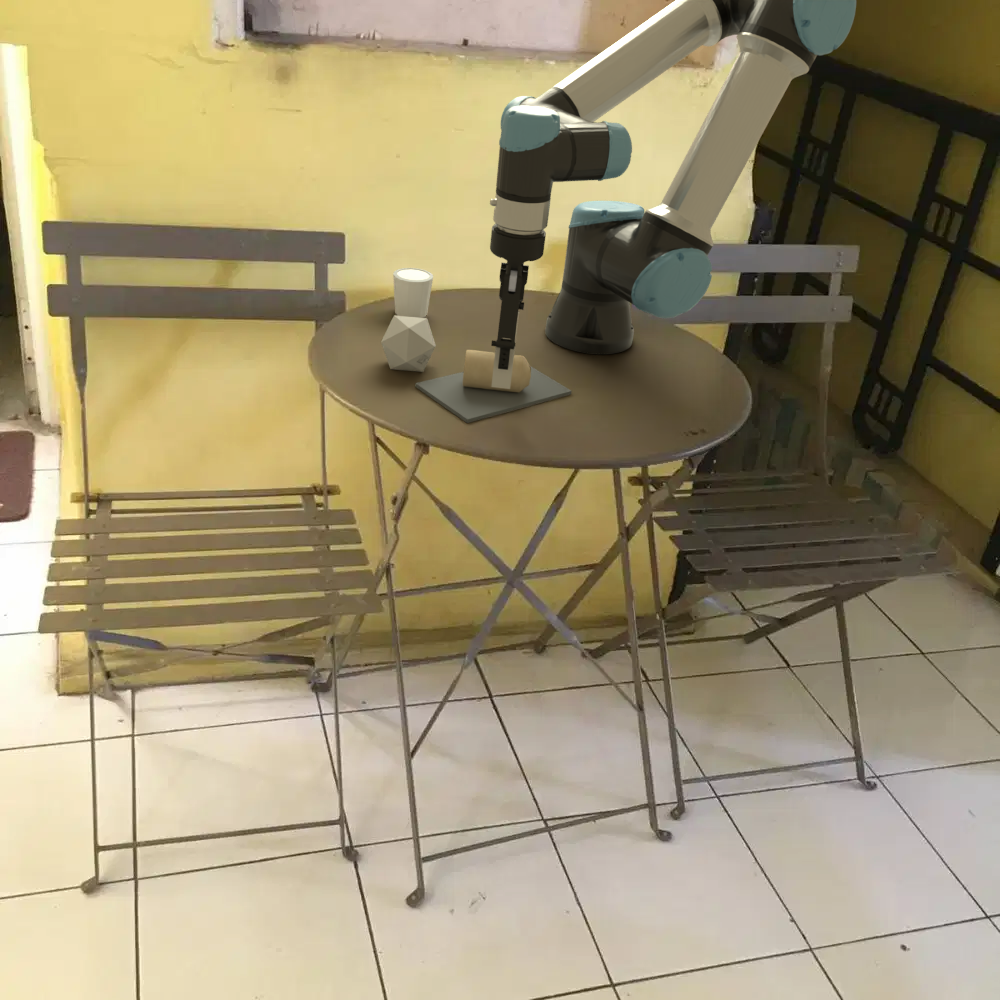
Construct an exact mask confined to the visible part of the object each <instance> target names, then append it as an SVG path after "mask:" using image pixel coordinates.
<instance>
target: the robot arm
mask: <svg viewBox="0 0 1000 1000" xmlns="http://www.w3.org/2000/svg"><path fill="white" fill-rule="evenodd" d="M856 8H857V0H674V1H673V2H671V3H670V4H669V5H667V6H666V7H664V8H663V9H661V10H660V11H658V12H657V13H656V14H654V15H653V16H651V17H650V18H649V19H648V20H646V21H645V22H642V24H640V25H638V27H636V28H634V29H633V30H632V31H630V32H629V33H627V34H626V35H625V36H623V37H622V38H620V39H619V40H618V41H616V42H615V43H613V44H612V45H611V46H609V47H607V48H606V49H605V50H603V51H602V52H600V53H599V54H598V55H596V56H594V57H593V58H592V59H590V60H588V62H586V63H585V64H583V65H582V66H581V67H579V68H577V69H576V70H575V71H573V72H572V73H571V74H569V75H567V76H566V77H565V78H564V79H562V80H561V81H559V82H558V83H556V84H554V86H552V87H550V88H549V89H548V90H546V91H545V92H543V93H542V94H540V95H539V96H538V97H535V96H532V95H531V96H529V95H521V96H517V97H515V98H513V99H511V100H510V102H508V103H507V104H506V106H505V107H504V109H503V112H502V114H501V117H500V130H501V131H500V138H499V142H498V145H499V149H498V151H499V152H498V160H497V162H498V163H497V174H496V185H495V186H496V188H495V198H491V199H490V201H489V204H490V206H492V207H494V209H493V215H492V217H493V218H492V219H493V222H494V224H493V225H492V227H491V234H490V244H489V249H490V252H491V253H492V254H493V255H494V256H496V257H497V258H500V259H504V260H505V261H506V262H501V264H500V265H501V266H500V272H499V283H500V286H499V291H498V293H499V294H498V298H499V300H500V301H501V305H500V313H499V320H498V331H497V339H496V340H491V347H495V349H494V353H495V358H494V367H493V377H492V386H491V387H496V388H505V389H510V386H511V377H512V369H513V360H514V355H515V352H516V351H515V350H516V343H517V334H518V326H519V325H518V324H519V316H520V311H521V310H522V311H524V307H525V302H523V301H524V295H525V288H526V285H527V283H528V278H529V268H530V267H529V265H528V264H527V265H525V263H526V262H533V261H537V260H539V259H541V258H542V257H543V256H544V251H545V243H546V234H547V233H546V231H545V229H546V228H547V227H548V223H549V215H550V207H551V199H552V198H551V195H552V191H553V183H563V182H584V181H587V182H588V181H598V182H601V181H604V180H609V179H610V180H611V179H615V178H619V177H620V176H621V177H622V175H623V174H624V173H625V172H626V171H627V170H628V168H629V165H630V164H631V161H632V153H633V143H632V138H631V136H630V133H629V131H628V129H627V128H626V127H625V126H624V125H623V124H621V123H618V122H608V121H606V120H602V121H600V122H596V121H597V120H599V119H600V118H601V117H603V116H604V115H605V114H608V113H609V112H610V111H611V110H613V109H615V107H617V106H618V105H620V104H621V103H623V102H624V101H626V100H627V99H628V98H630V97H631V96H633V95H634V94H635V93H636V92H639V90H641V89H643V88H644V87H645V86H646V85H648V84H650V83H651V82H652V81H654V80H655V79H657V78H658V77H659V76H661V75H663V74H664V73H665V72H666V71H668V70H669V69H670V68H672V67H674V66H675V65H676V64H678V63H680V61H682V60H683V59H685V58H686V57H687V56H689V55H690V54H692V53H693V52H695V51H696V50H697V49H699V48H700V47H701V46H704V47H713V46H715V45H716V44H718V43H719V42H721V41H722V40H724V39H725V38H728V37H731V36H732V37H733V36H735V35H736V39H737V43H738V46H739V54H738V56H737V57H736V59H735V61H734V63H733V65H732V66H731V69H730V71H729V72H728V74H727V77H726V78H725V80H724V82H723V84H722V86H721V88H720V89H719V92H718V94H717V96H716V97H715V100H714V101H713V103H712V105H711V107H710V109H709V110H708V113H707V115H706V116H705V118H704V120H703V122H702V123H701V126H700V127H699V130H698V132H697V133H696V136H695V138H694V139H693V141H692V144H691V145H690V147H689V149H688V151H687V153H686V154H685V156H684V158H683V160H682V162H681V164H680V165H679V167H678V170H677V172H676V174H675V176H674V178H673V179H672V182H671V183H670V185H669V187H668V189H667V191H666V192H665V195H664V196H663V198H662V200H661V202H660V203H659V204H658V205H656V206H652V207H650V208H647V209H646V210H645V209H644V208H645V207H643V206H642V205H639V204H637V203H636V204H635V203H633V202H632V203H631V202H626V201H620V200H619V201H618V200H617V201H616V200H589V201H583V202H581V203H578V204H577V205H576V206H574V208H573V210H572V213H571V218H570V222H569V225H568V235H567V236H568V238H567V245H566V250H565V257H564V258H565V260H564V267H563V273H562V274H563V275H562V282H561V289H560V291H559V294H558V296H557V298H556V299H555V302H554V304H553V307H552V309H551V311H550V312H549V314H548V316H547V318H546V323H545V329H544V330H545V332H544V333H545V336H546V337H547V339H549V340H550V341H551V342H553V344H555V345H557V346H560V347H562V348H564V349H567V350H570V351H574V352H578V353H583V354H590V355H613V354H618V353H622V352H624V351H627V350H629V349H630V348H631V346H632V345H633V341H634V340H633V339H634V335H635V334H634V333H635V329H634V325H633V323H632V308H631V304H632V305H633V306H635V307H636V309H637V310H639V311H640V310H641V311H642V312H644V313H647V314H649V315H652V316H654V317H656V318H659V319H672V318H676V317H679V316H680V315H682V314H686V313H687V312H689V311H690V310H692V309H693V308H694V307H695V306H696V305H698V303H699V302H700V301H701V300H702V299H703V297H704V296H705V294H706V293H707V291H708V290H709V286H710V284H711V282H712V277H713V274H711V272H712V271H713V266H712V262H711V260H710V258H709V254H710V253H711V250H712V249H713V247H714V241H713V237H712V233H711V231H712V230H711V229H712V228H713V226H714V224H715V223H716V220H717V218H718V216H719V215H720V213H721V212H722V211H721V210H722V209H723V208H724V205H725V203H726V202H727V200H728V198H729V196H730V194H731V192H732V190H733V189H734V187H735V185H736V184H737V182H738V180H739V177H740V176H741V174H742V172H743V170H744V169H745V167H746V164H747V163H748V161H749V159H750V157H751V156H752V154H753V152H754V150H755V149H756V147H757V144H759V143H758V142H759V141H760V139H761V137H762V135H763V134H764V131H765V130H766V128H767V127H768V124H769V122H770V121H771V120H772V119H771V118H772V116H773V115H774V113H775V111H776V109H777V108H778V105H779V104H780V102H781V100H782V98H783V97H784V95H785V92H786V91H787V89H788V87H789V85H790V84H791V81H792V80H794V79H795V78H797V77H800V76H802V75H806V74H807V73H808V72H809V71H810V69H811V68H812V65H813V63H814V62H815V60H816V58H817V56H824V55H828V54H831V53H832V52H833V51H834V50H837V49H838V48H839V47H840V46H841V45H842V44H843V43H844V42H845V40H846V39H847V37H848V35H849V33H850V31H851V28H852V26H853V24H854V19H855V16H856V10H857V9H856ZM519 310H520V311H519Z"/></svg>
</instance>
